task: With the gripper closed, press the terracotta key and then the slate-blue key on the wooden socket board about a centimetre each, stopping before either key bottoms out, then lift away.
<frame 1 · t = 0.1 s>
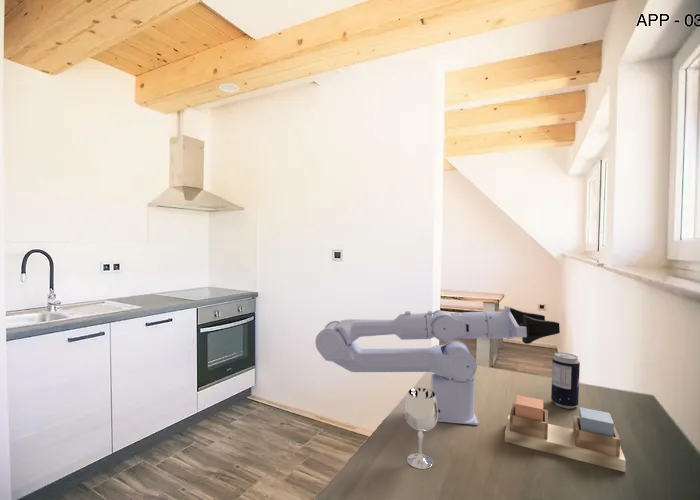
hand: (551, 323, 79), 22 cm above the table, tool horizontal, fingers open, 7 cm apart
wineglass: (419, 462, 64), on the table
wooden socket board: (560, 445, 71), on the table
beverage can: (564, 405, 89), on the table
terracotta key: (529, 409, 73), point 6 cm above the table, slide at 0.0 cm
slate key: (595, 423, 68), point 6 cm above the table, slide at 0.0 cm
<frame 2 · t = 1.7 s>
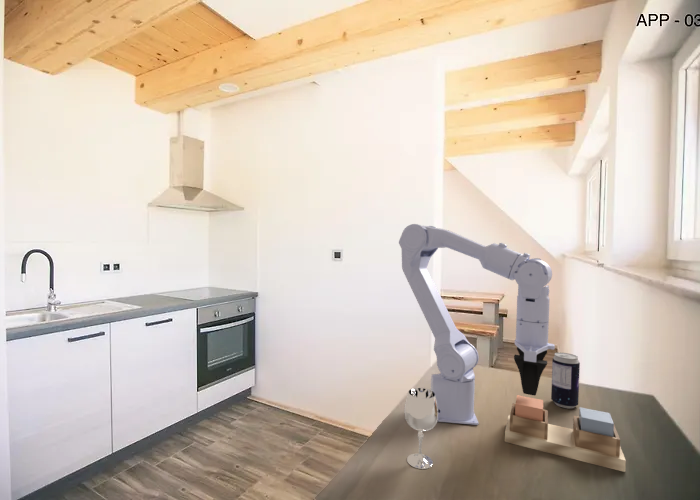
hand: (530, 388, 73), 10 cm above the table, tool pointing down, fingers open, 6 cm apart
nothing on the table moved.
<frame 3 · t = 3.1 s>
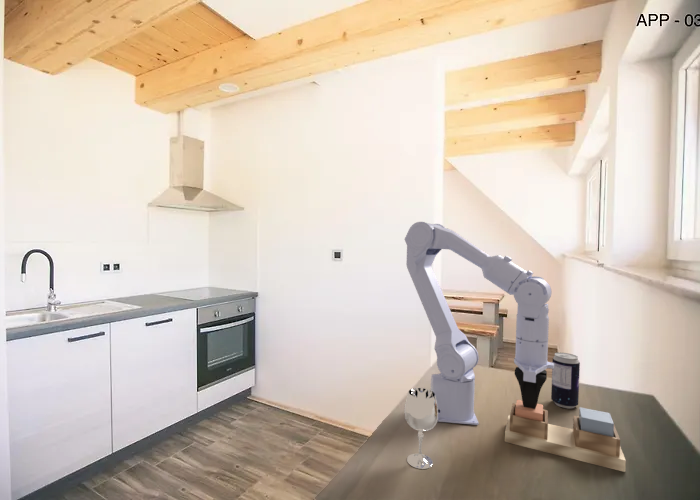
hand: (529, 406, 73), 6 cm above the table, tool pointing down, fingers closed, pressing on terracotta key
terracotta key: (529, 414, 73), point 5 cm above the table, slide at 0.9 cm, touching gripper
everything else where it was.
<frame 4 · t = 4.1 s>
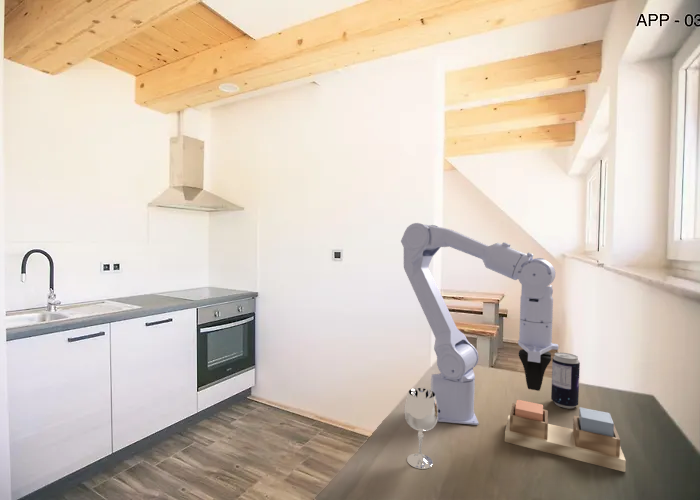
hand: (533, 388, 73), 10 cm above the table, tool pointing down, fingers closed
terracotta key: (529, 414, 73), point 5 cm above the table, slide at 0.9 cm
everything else where it was.
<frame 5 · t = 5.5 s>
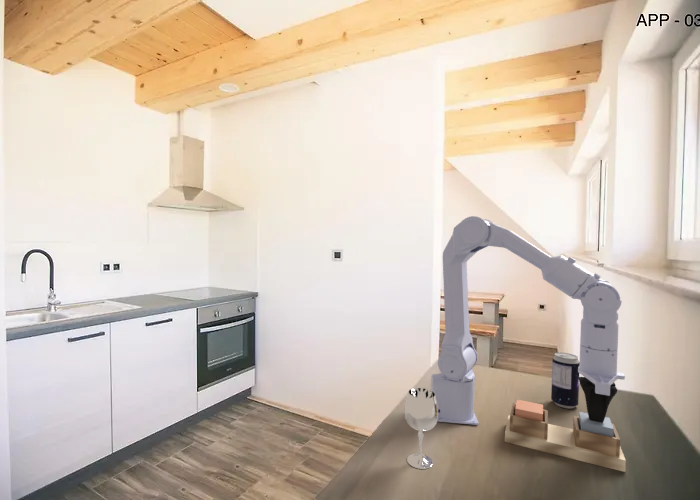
hand: (595, 420, 68), 6 cm above the table, tool pointing down, fingers closed, pressing on slate key
slate key: (595, 427, 68), point 5 cm above the table, slide at 0.9 cm, touching gripper
everything else where it was.
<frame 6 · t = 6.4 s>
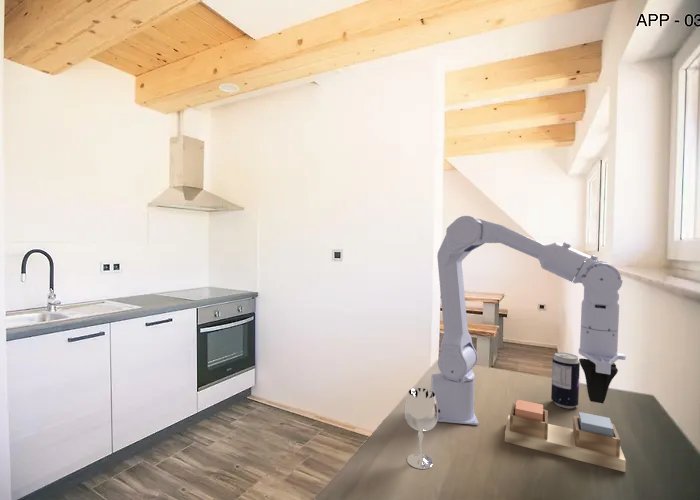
hand: (596, 401, 68), 10 cm above the table, tool pointing down, fingers closed
slate key: (595, 428, 68), point 5 cm above the table, slide at 0.9 cm
everything else where it was.
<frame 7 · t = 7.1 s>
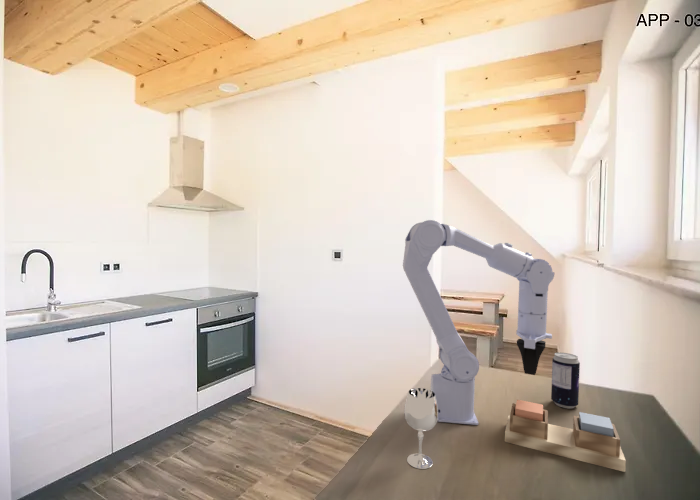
hand: (529, 373, 82), 10 cm above the table, tool pointing down, fingers closed
nothing on the table moved.
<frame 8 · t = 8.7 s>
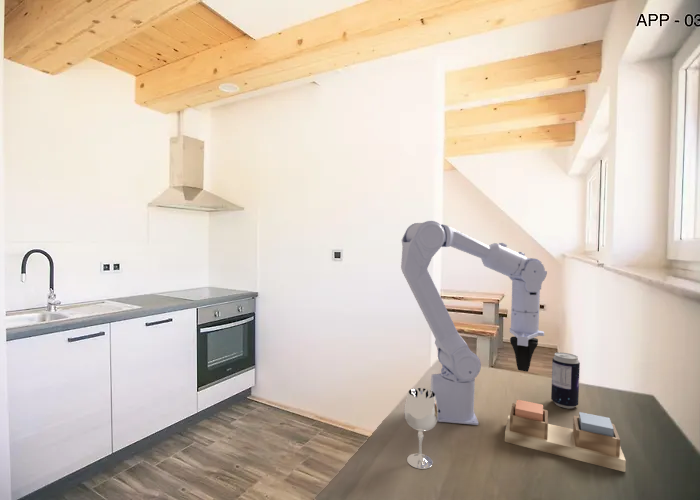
hand: (523, 370, 84), 10 cm above the table, tool pointing down, fingers closed
nothing on the table moved.
at the end: terracotta key slide at 0.9 cm; slate key slide at 0.9 cm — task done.
